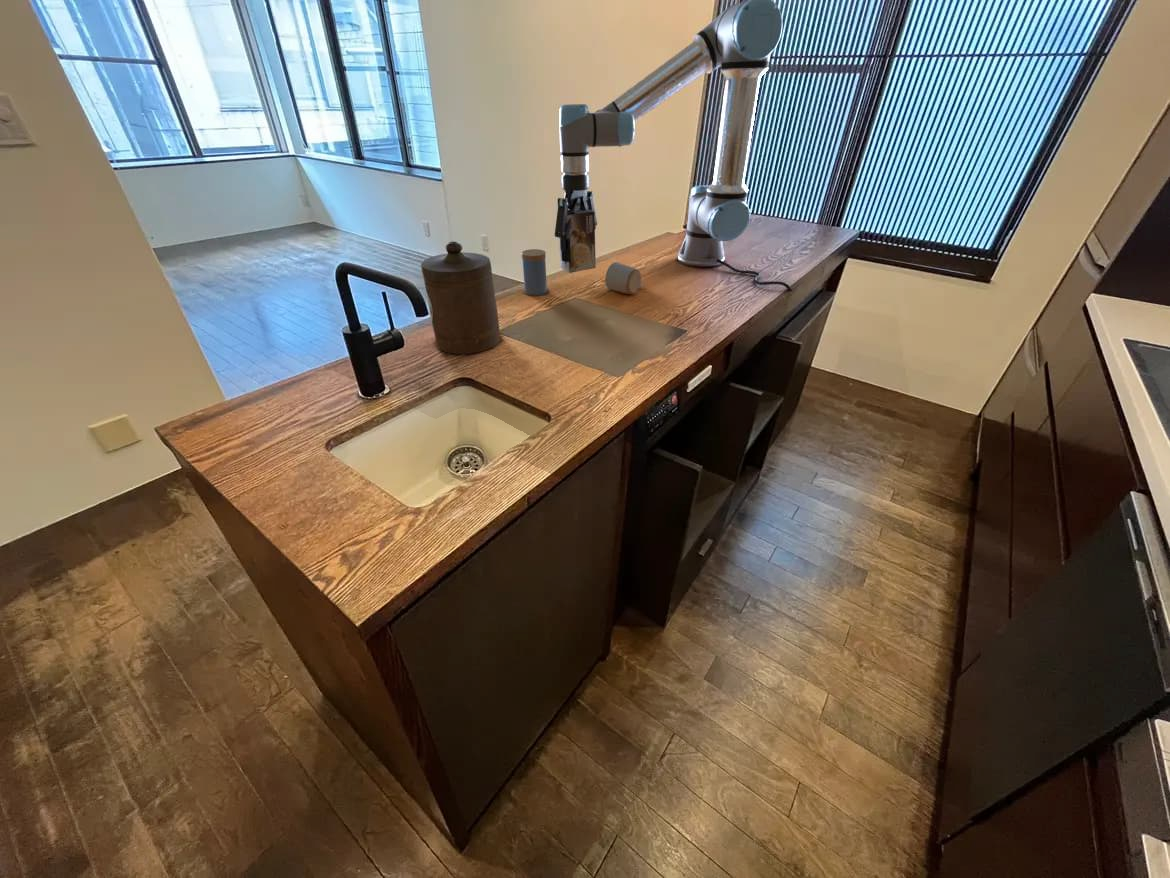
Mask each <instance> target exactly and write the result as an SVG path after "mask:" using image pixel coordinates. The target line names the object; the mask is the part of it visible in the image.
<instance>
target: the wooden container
mask: <svg viewBox="0 0 1170 878" xmlns="http://www.w3.org/2000/svg"><path fill="white" fill-rule="evenodd" d="M445 250H446V252H447V253H443V254H442V253H441V254H436V255H433V256H430V257H428V258H426V259H424V260H423V261H421V263H420V268H421V274H422V278H423V284H424V288H425V289H424V290H425V294H426V300H427V304H428V311H429V317H430V322H431V326H432V330H433V335H434V339H435V344H436V346H437V347H438V348H439V349H440V350H442V351H443V352H446V353H449V354H457V355H459V354H460V355H465V354H475V353H479V352H484V351H486V350H489V349H491V348H493V347H495V346H496V345H497V344H498V343H499V342H500V340H501V329H500V323H499V322H500V319H499V314H498V306H497V301H496V292H495V287H494V280H493V271H492V270H493V269H492V263H491V259H490V257H488V256H487V255H485V254H482V253H476V252H462V250H463V246H462V244H461V243H459V242H458V241H448V243H447V244H446V245H445Z"/></svg>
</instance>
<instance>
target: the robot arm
mask: <svg viewBox="0 0 1170 878" xmlns="http://www.w3.org/2000/svg"><path fill="white" fill-rule="evenodd" d="M782 32H783V16H782V13H781V10H780V9H779V7H778V5H777V4H776V2H775V1H774V0H744V1H742V2H739V3H735V4H733V5H730V6H729V7H727V8H726V9H725V10H724V11H722V12H720V13H719V15H717V17H716V18H714V19H713V20H712V21H711V22H710V23H709V24H707V25H705V27H703V28H702V29H701V30H700V31H699V32H697V33H696V34H694V36H693V38H692V42H691V43H690V44H688V45H687V46H685V47H684V48H683V49H682V50H680V51H679V52H677V53H676V54H675V55H673V56H671V58H669V59H668V60H666V61H665V62H664V63H663V64H661V65H660V66H658V67H657V68H656V69H654V70H652V71H651V72H650V73H649V74H647V75H646V76H645V77H644V78H642V79H641V80H639V81H638V82H637V83H635V84H634V85H632V86H631V87H630V88H629V89H627V90H626V91H624V92H623V93H622V94H620V95H619V96H618V97H616V98H615V99H614V100H612V101H611V102H610V103H608V104H607V105H606V106H604V107H603V108H601V109H598V110H596V111H594V112H590V111H589V106H588V105H587V104H585V103H569V104H562V105H561V106H560V107H559V110H558V111H559V112H558V114H559V118H558V120H559V121H558V123H559V124H558V129H559V130H558V131H559V148H560V162H561V163H560V169H561V172H562V174H561V188H562V190H563V191H564V197H558V198H557V211H556V220H555V227H554V237H555V238H557V239H559V238H560V246H561V253H562V261H564V262H571V254H570V238H568V235H569V231H570V228H571V218H570V219H569V221H568V223H566V217H567V214H571V215H572V214H576V211H578V210H587V209H589V210H592V211H595V212H594V213H595V230H596V229H597V226H598V221H597V220H598V219H597V214H596V209H595V202H594V191H592V190H588V189H590V175H589V173H588V172H589V171H590V155H589V153H590V152H589V150H590V148H595V147H596V148H597V147H598V148H599V147H603V148H604V147H606V148H607V147H619V148H621V147H624V146H625V147H626V146H631V144H633V142H634V138H635V129H636V128H635V127H636V125H635V123H636V122H637V121H638V120H639V119H641V118H642V117H644V116H646V115H647V114H648V113H649V112H651V111H652V110H654V109H656V107H658V106H659V105H661V104H662V103H664V102H666V100H668V99H669V98H670V97H672V96H673V95H675V94H676V93H677V92H679V91H681V90H682V89H683V88H684V87H686V86H687V85H689V84H690V83H691V82H693V81H694V80H696V79H698V77H700V76H701V75H703V74H708V75H710V74H711V73H713V72H714V71H716V70H717V69H718V68H720V72H721V74H722V75H723V77H724V79H725V81H724V90H723V97H722V104H721V105H722V106H721V113H720V120H719V121H720V123H719V129H718V139H717V146H716V155H715V162H714V163H715V164H714V170H713V180H712V183H711V184H709V185H707V184H706V185H695V186H693V187H692V188H691V191H690V196H689V199H688V200H689V204H688V213H687V223H686V232H685V237H684V240H683V242H682V244H681V247H680V249H679V252H678V255H677V261H678V262H679V263H681V264H683V265H685V266H690V267H696V268H713V267H717V266H721V265H723V266H725V267H726V268H727V269H729V270H731V271H732V272H735V273H739V274H746V275H747V274H748V275H755V276H756V277H754V279H753V283H755V284H757V285H760V286H769V285H770V286H771V285H780V286H783V287H785V288H786V289H787V290H788V291H793V289H792V287H791V286H790V285H789V284H788V283H786V282H784V281H778V280H773V281H759V279H760V278H761V273H760V272H758V271H755V270H743V269H738V268H735V267H733V265H731V264H729V263H727V262H725V251H724V244H723V242H730V241H733V240H736V239H738V238H739V237H740V236H741V235H742V234H743V233H745V231H746V229H747V228H748V226H749V224H750V220H751V211H750V208H749V205H748V204H747V199H748V194H749V189H748V187H747V185H746V184H745V177H746V171H747V164H748V158H749V153H750V146H751V139H752V132H753V126H754V121H755V113H756V108H757V100H758V95H759V88H760V82H761V78H762V76H763V75H764V74H765V73H766V72H767V71H768V70H769V65H770V58H771V54H772V53H773V52H774V50H775V49H776V48H777V46H778V45H779V42H780V39H781V37H782V34H783V33H782ZM564 232H565V234H564ZM560 246H559V247H560Z"/></svg>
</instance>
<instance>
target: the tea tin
mask: <svg viewBox="0 0 1170 878" xmlns="http://www.w3.org/2000/svg"><path fill="white" fill-rule="evenodd" d="M520 254H521V261H522V272H523V285H524V294H526V295H527V296H541V295H542V296H543V295H545V294H547V293H548V284H547V283H548V281H547V264H546V255H547V254H546V251H545V250H543V249H539V248H538V249H537V248H532V249H531V248H530V249H526V250H523V251H521V252H520Z"/></svg>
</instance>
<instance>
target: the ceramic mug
mask: <svg viewBox="0 0 1170 878" xmlns="http://www.w3.org/2000/svg"><path fill="white" fill-rule="evenodd" d="M604 278H605V280H604V281H605V282H604V283H605V286H606V288H607V289H608V290H610V291H613V292H618V293H622V294H626V295H633V294H635V293H636V292H637V291H638V290H639V288H641V286H642V283H643V282H642V273H641V271H640V270H639V269H637V268H635V267H633V266H630V265H627V264H624V263H621V262H618V261H614V262H612V263H611V264H610V265H609V267H608V268H607V269H606V273H605V277H604Z"/></svg>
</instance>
